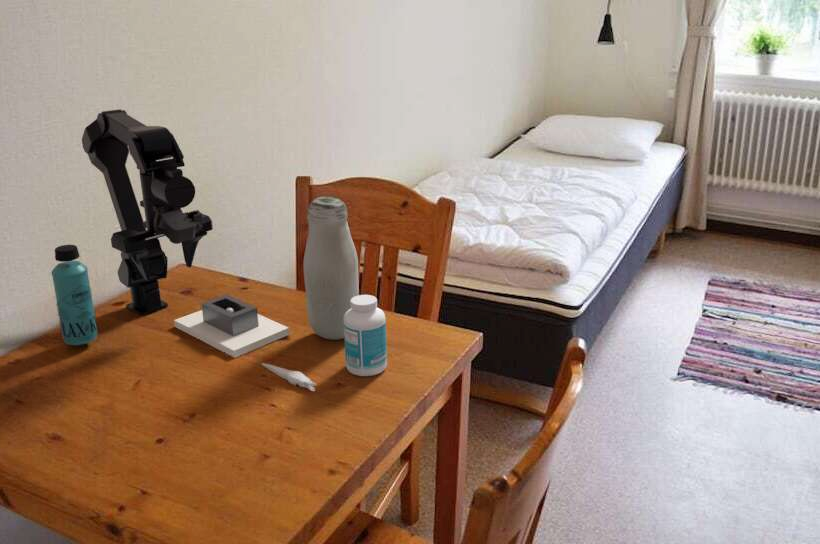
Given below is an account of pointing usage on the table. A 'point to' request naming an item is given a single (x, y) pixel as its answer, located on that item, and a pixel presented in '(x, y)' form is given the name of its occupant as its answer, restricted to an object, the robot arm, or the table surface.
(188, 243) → the robot arm
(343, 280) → the glass bottle
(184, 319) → the keeper board
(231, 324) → the steel link
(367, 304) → the pill bottle
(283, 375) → the white elongated figurine
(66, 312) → the beverage bottle
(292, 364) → the table surface
